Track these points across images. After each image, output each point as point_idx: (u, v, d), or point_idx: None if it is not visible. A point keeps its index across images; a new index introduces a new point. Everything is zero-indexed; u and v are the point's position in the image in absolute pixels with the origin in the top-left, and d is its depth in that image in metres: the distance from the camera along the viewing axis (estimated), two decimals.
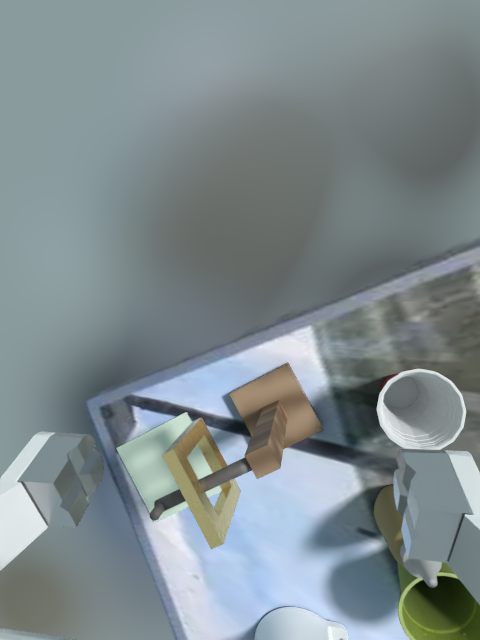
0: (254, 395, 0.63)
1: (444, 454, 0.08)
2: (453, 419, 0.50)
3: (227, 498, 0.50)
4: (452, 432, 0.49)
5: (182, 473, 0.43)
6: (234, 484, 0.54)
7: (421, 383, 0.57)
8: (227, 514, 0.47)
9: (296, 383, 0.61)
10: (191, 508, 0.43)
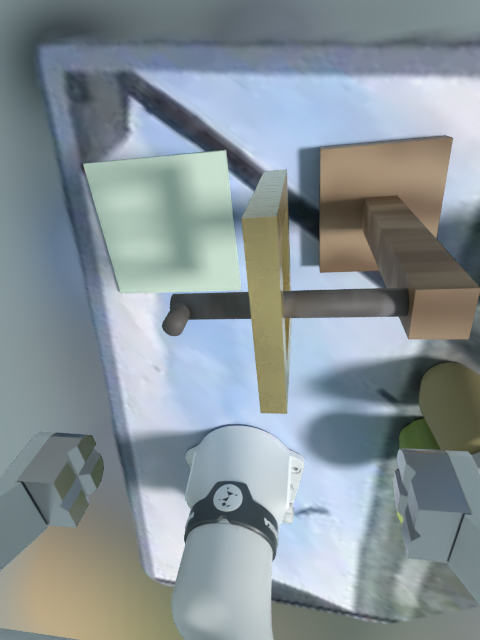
0: (361, 170, 0.34)
1: (444, 454, 0.08)
2: None
3: (289, 327, 0.28)
4: None
5: (271, 275, 0.18)
6: None
7: None
8: None
9: (443, 179, 0.34)
10: (257, 344, 0.21)
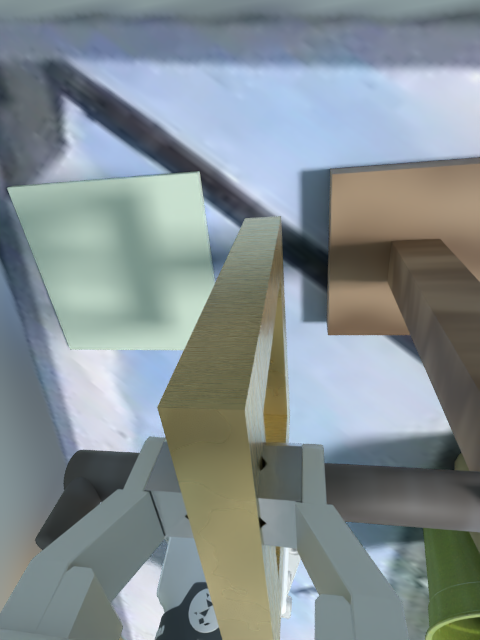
0: (390, 203, 0.24)
1: (299, 448, 0.09)
2: None
3: None
4: None
5: (239, 508, 0.08)
6: (288, 407, 0.21)
7: None
8: None
9: None
10: (216, 596, 0.10)
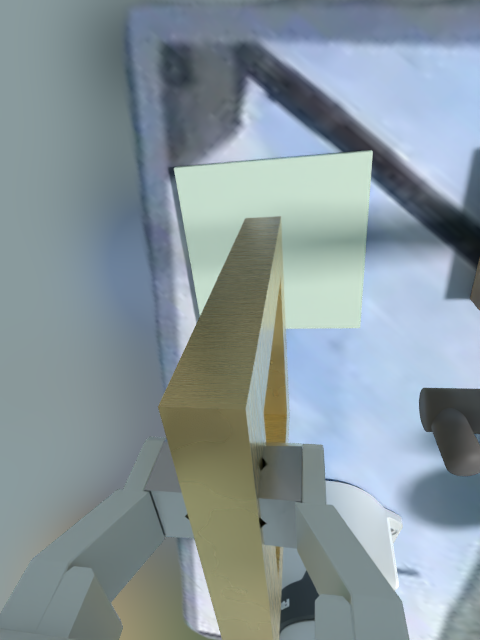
0: None
1: (299, 448, 0.09)
2: None
3: None
4: None
5: (239, 508, 0.08)
6: None
7: None
8: None
9: None
10: (216, 596, 0.10)
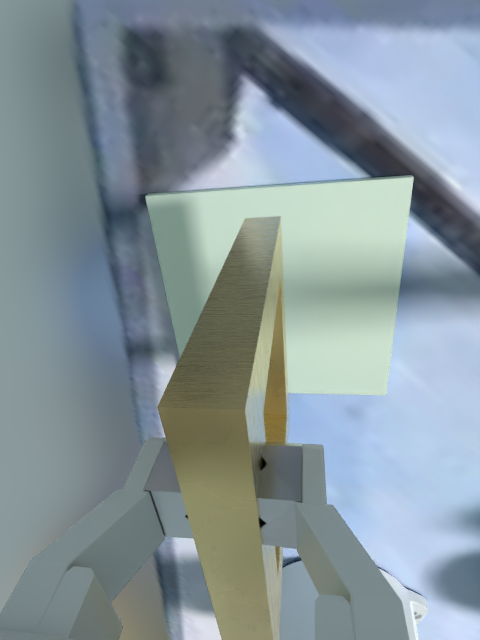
0: None
1: (299, 448, 0.09)
2: None
3: None
4: None
5: (238, 508, 0.08)
6: None
7: None
8: None
9: None
10: (216, 596, 0.10)
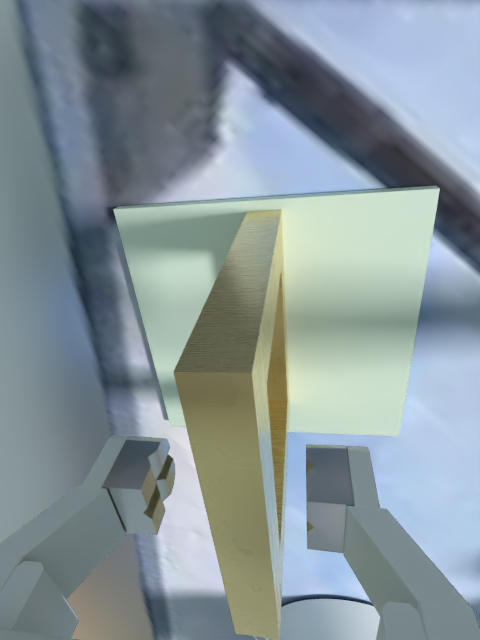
0: None
1: (344, 450, 0.09)
2: None
3: (285, 448, 0.18)
4: None
5: (244, 468, 0.09)
6: (288, 394, 0.22)
7: None
8: (284, 504, 0.17)
9: None
10: (223, 558, 0.11)
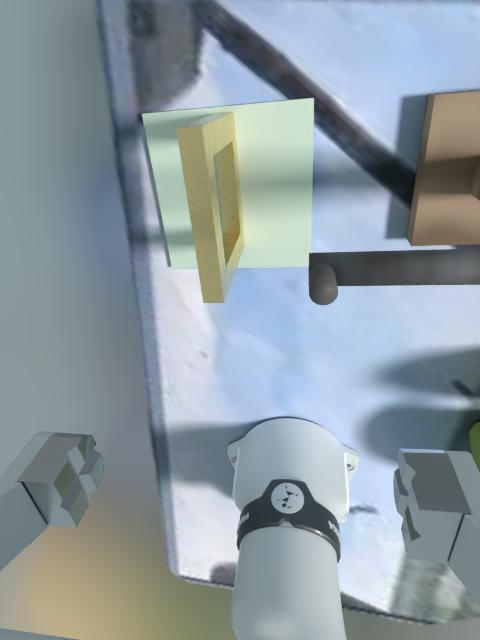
0: None
1: (444, 454, 0.08)
2: None
3: (235, 246, 0.34)
4: None
5: (202, 176, 0.24)
6: (242, 234, 0.37)
7: None
8: (232, 267, 0.32)
9: None
10: (196, 239, 0.26)
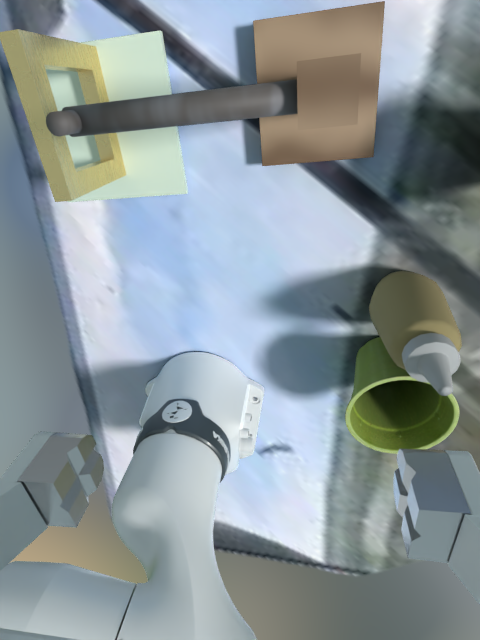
0: (296, 43, 0.34)
1: (444, 455, 0.08)
2: None
3: (101, 165, 0.38)
4: None
5: (27, 77, 0.28)
6: (119, 162, 0.42)
7: None
8: (93, 180, 0.36)
9: (378, 51, 0.33)
10: (35, 138, 0.31)
